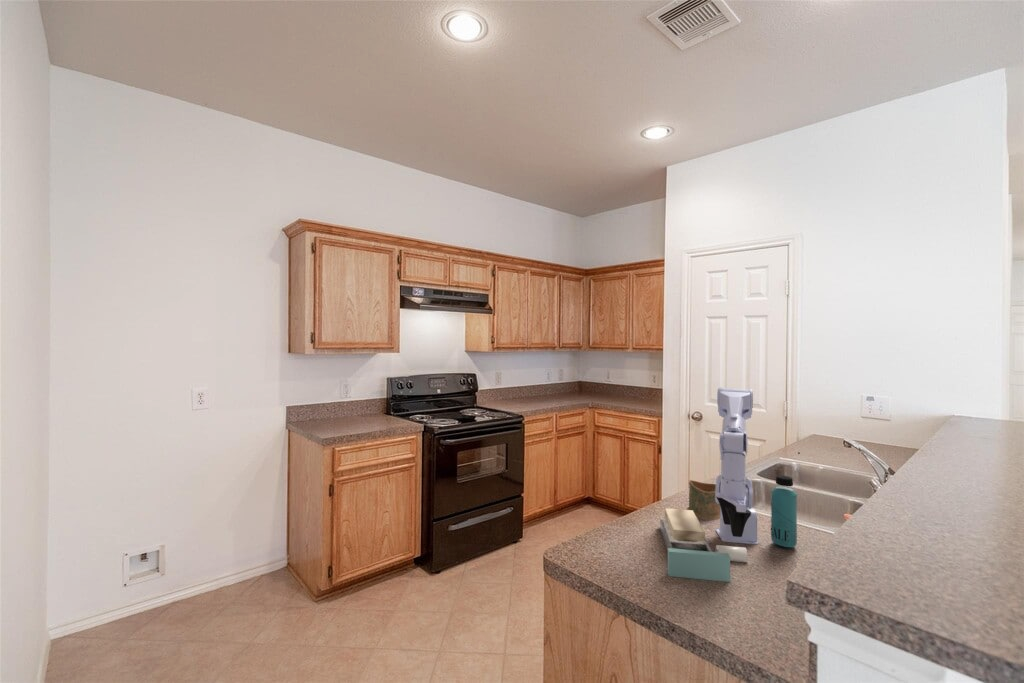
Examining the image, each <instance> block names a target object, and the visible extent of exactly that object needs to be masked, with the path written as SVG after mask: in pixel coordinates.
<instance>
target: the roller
mask: <svg viewBox="0 0 1024 683" xmlns="http://www.w3.org/2000/svg"><path fill="white" fill-rule="evenodd" d="M715 552H719V553H728V554H729V556H730V562H738V563H748V560H749V553H748V550H747V548H746V547H744V546H730V545H718V544H716V545H715Z"/></svg>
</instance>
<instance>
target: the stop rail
mask: <svg viewBox="0 0 1024 683" xmlns="http://www.w3.org/2000/svg"><path fill="white" fill-rule="evenodd" d="M667 575H668V577H674V578H675V577H676V578H684V579H685V578H686V579H692V580H693V579H694V580H705V581H706V580H707V581H715V582H717V581H718V582H727V583H730V582H731V561H730V556H729V554H728V553H719V552H716V551H712V552H708V551H700V550H689V549H678V548H668V551H667Z"/></svg>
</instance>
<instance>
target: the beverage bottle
mask: <svg viewBox="0 0 1024 683" xmlns="http://www.w3.org/2000/svg"><path fill="white" fill-rule="evenodd" d="M793 481H794V480H793V478H792V477H791V476H788V475H776V478H775V484H776V485H778V486H776V487H774V488H773V489H772V490H771V491H770V492H771V503H770V505H771V508H770V512H771V514H770V539H771V542H772V543H774V545H775V544H776V545H778V546H781V547H783V548H784V547H785V548H794V547H796V546H797V544H798V524H797V523H798V520H797V519H798V518H797V516H798V515H797V514H798V493H797V492H795V490H794V489H793V488H791V487H793V486H794V483H793Z"/></svg>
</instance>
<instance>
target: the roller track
mask: <svg viewBox="0 0 1024 683" xmlns="http://www.w3.org/2000/svg"><path fill="white" fill-rule="evenodd" d="M659 529H660V533H661V535H662V538H663V541H664V544H665V547H666V551H667V552H668V548H674V549H685V550H697V551H708V552H713V550H712V548H711V546H710V545H709V543H708V541H707V538H706V537H705V541H693V540H681V539H673V536H672V534H671V531H670V528H669V526H668V523H667V521H666V520H663V519H659Z"/></svg>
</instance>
